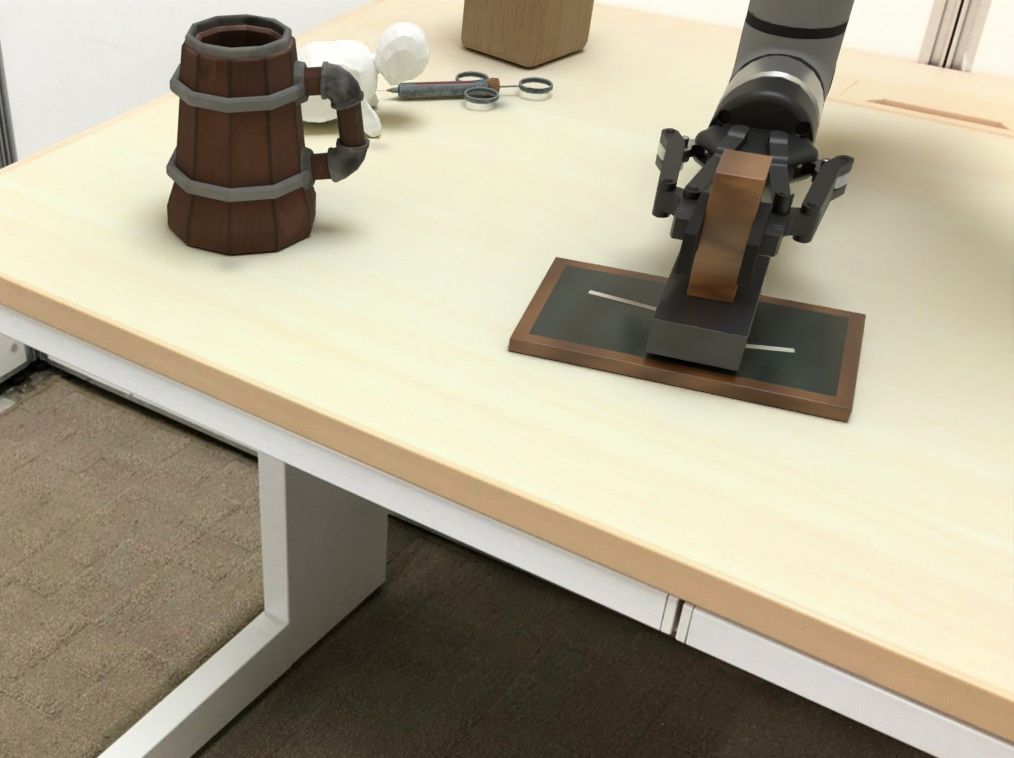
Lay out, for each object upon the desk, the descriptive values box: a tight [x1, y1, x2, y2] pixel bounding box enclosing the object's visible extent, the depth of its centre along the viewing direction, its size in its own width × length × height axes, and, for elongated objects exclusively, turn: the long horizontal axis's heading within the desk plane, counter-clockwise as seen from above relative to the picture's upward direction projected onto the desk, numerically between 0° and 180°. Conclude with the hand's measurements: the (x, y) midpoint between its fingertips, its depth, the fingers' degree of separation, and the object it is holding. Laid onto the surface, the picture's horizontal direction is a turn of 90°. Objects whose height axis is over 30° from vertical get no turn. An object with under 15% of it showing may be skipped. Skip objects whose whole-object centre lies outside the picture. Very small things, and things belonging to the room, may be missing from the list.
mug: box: [165, 13, 371, 255], centre depth 95 cm, size 16×12×15 cm
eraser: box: [645, 149, 773, 371], centre depth 81 cm, size 6×12×11 cm, turn 156°
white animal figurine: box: [297, 21, 431, 138], centre depth 114 cm, size 9×8×15 cm
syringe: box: [377, 70, 554, 105], centre depth 121 cm, size 8×18×2 cm, turn 95°
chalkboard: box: [507, 256, 867, 423], centre depth 86 cm, size 22×13×1 cm, turn 66°
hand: (716, 259), depth 77 cm, fingers closed on eraser, 3 cm apart
